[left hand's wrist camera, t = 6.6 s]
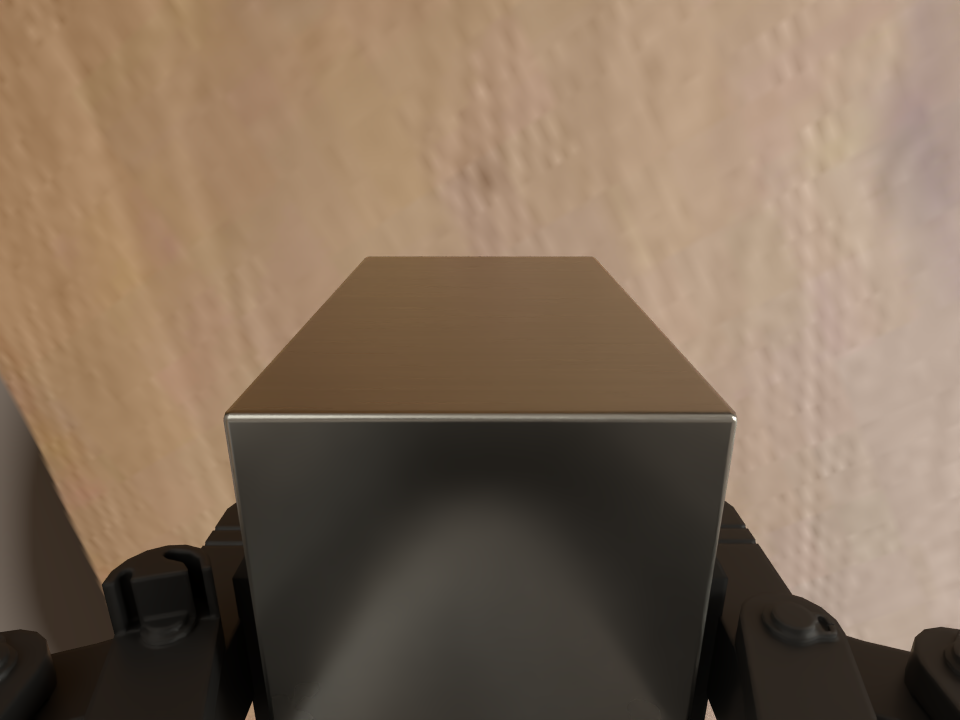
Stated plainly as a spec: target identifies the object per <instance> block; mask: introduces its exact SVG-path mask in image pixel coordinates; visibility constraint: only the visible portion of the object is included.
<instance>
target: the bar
mask: <svg viewBox="0 0 960 720" xmlns="http://www.w3.org/2000/svg"><path fill="white" fill-rule="evenodd" d="M736 425H737V416H736V413H735V412H734V411H733V409H732V408H731V407H730V406H729V405H728V404H727V403H726V402H725V401H724V400H723V398H722V397H721V396H720V395H719V394H718V393H717V392H716V391H715V390H714V389H713V387H712V386H711V385H710V384H709V383H708V382H707V381H706V380H705V379H704V378H703V376H702V375H701V374H700V373H699V372H698V371H697V370H696V369H695V368H694V367H693V365H692V364H691V363H690V362H689V361H688V360H687V359H686V358H685V357H684V356H683V354H682V353H681V352H680V351H679V350H678V349H677V348H676V347H675V346H674V344H673V343H672V342H671V341H670V340H669V339H668V338H667V337H666V336H665V335H664V333H663V332H662V331H661V330H660V329H659V328H658V327H657V326H656V325H655V324H654V322H653V321H652V320H651V319H650V318H649V317H648V316H647V315H646V314H645V313H644V311H643V310H642V309H641V308H640V307H639V306H638V305H637V304H636V303H635V302H634V300H633V299H632V298H631V297H630V296H629V295H628V294H627V293H626V292H625V291H624V289H623V288H622V287H621V286H620V285H619V284H618V283H617V282H616V281H615V279H614V278H613V277H612V276H611V275H610V274H609V273H608V272H607V271H606V270H605V268H604V267H603V266H602V265H601V264H600V263H599V262H598V261H597V260H596V259H595V258H594V257H366V258H365V259H364V260H363V261H362V262H361V263H360V264H359V266H358V267H357V268H356V269H355V270H354V271H353V272H352V273H351V274H350V276H349V277H348V278H347V279H346V280H345V281H344V282H343V283H342V284H341V285H340V287H339V288H338V289H337V290H336V291H335V292H334V293H333V294H332V295H331V297H330V298H329V299H328V300H327V301H326V302H325V303H324V304H323V305H322V306H321V308H320V309H319V310H318V311H317V312H316V313H315V314H314V315H313V316H312V318H311V319H310V320H309V321H308V322H307V323H306V324H305V325H304V326H303V327H302V329H301V330H300V331H299V332H298V333H297V334H296V335H295V336H294V337H293V339H292V340H291V341H290V342H289V343H288V344H287V345H286V346H285V347H284V348H283V350H282V351H281V352H280V353H279V354H278V355H277V356H276V357H275V358H274V359H273V361H272V362H271V363H270V364H269V365H268V366H267V367H266V368H265V369H264V371H263V372H262V373H261V374H260V375H259V376H258V377H257V378H256V379H255V380H254V382H253V383H252V384H251V385H250V386H249V387H248V388H247V389H246V390H245V392H244V393H243V394H242V395H241V396H240V397H239V398H238V399H237V400H236V401H235V403H234V404H233V405H232V406H231V407H230V408H229V409H228V410H227V411H226V413H225V416H224V426H225V433H226V439H227V445H228V452H229V458H230V464H231V471H232V477H233V483H234V490H235V496H236V503H237V509H238V515H239V522H240V528H241V534H242V541H243V547H244V553H245V560H246V566H247V572H248V579H249V585H250V591H251V598H252V604H253V610H254V617H255V623H256V630H257V636H258V642H259V649H260V655H261V661H262V668H263V674H264V680H265V687H266V693H267V699H268V706H269V712H270V718H271V720H690V716H691V710H692V703H693V697H694V691H695V684H696V678H697V672H698V665H699V659H700V653H701V646H702V640H703V634H704V627H705V621H706V615H707V608H708V602H709V596H710V589H711V583H712V577H713V570H714V564H715V558H716V552H717V545H718V539H719V533H720V526H721V520H722V514H723V507H724V501H725V495H726V488H727V482H728V476H729V469H730V463H731V457H732V450H733V444H734V438H735V431H736Z"/></svg>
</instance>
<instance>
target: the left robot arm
mask: <svg viewBox="0 0 960 720" xmlns="http://www.w3.org/2000/svg"><path fill="white" fill-rule="evenodd" d="M102 587H103V591H104V595H105V599H106V603H107V607H108V611H109V614H110V618H111V622H112V626H113V630H114V634H115V636H114V638H113V639H110V640H107V641H104V642H100V643H97V644H93V645H89V646H84V647H80V648H76V649H71V650H67V651H63V652H58V653H54V654H50V650H49V647H48V644H47V641H46V639H45V638H43V637H42V636H41V635H40V634H39V633H38V632H34V631H27V630H21V629H20V630H13V631H6V632H0V720H245V718H246V716H247V713H248V711H249V708H250V706H251V703H252V701H253V706H254V712H255V717H256V720H271V718H270V712H269V706H268V699H267V693H266V687H265V680H264V674H263V668H262V661H261V655H260V649H259V642H258V636H257V630H256V623H255V617H254V610H253V604H252V598H251V591H250V585H249V579H248V572H247V566H246V560H245V553H244V547H243V541H242V534H241V528H240V522H239V515H238V509H237V503H235V504H234V505H232V506H231V507H229V508H228V509H227V510H226V512H225V513H224V515H223V516H222V518H221V519H220V521H219V522H218V524H217V525H216V527H215V531H212V533H211V534H210V536H209V537H208V539H207V540H206V542H205V546H202V548H197V547H193V546H189V545H168V546H164V547H160V548H156V549H152V550H148V551H145V552H143V553H141V554H139V555H136V556H134V557H132V558H130V559H128V560H126V561H125V562H124V563H122V564H121V565H120V566H118V567H117V568H116V569H114V570H113V571H112V572H111V573H110V574H109V576H108V577H107V578H106V580H105V581H104V582H103V584H102ZM708 699H709V702H710V704H711V707H712V709H713V712H714V714H715V717H716V719H717V720H960V630H959V629H952V628H945V627H937V628H931V629H924V630H923V631H922V632H921V633H920V634H918V635H917V636H916V637H915V639H914V642H913V646H912V649H911V652H909V651H904V650H900V649H896V648H891V647H887V646H883V645H878V644H874V643H870V642H866V641H862V640H859V639H855V638H852V637H849V636H846V635H845V633H844V631H843V630H842V628H841V627H840V625H839V623H838V622H837V620H836V619H834V618H833V617H832V616H831V615H830V614H829V613H827V612H826V611H825V610H824V609H823V608H821V607H820V606H818V605H816V604H814V603H812V602H810V601H808V600H806V599H804V598H802V597H798V596H795V595H792V593H791V592H790V591H789V589H788V588H787V586H786V585H785V583H784V582H783V580H782V579H781V577H780V576H779V574H778V573H777V571H776V570H775V568H774V567H773V565H772V564H771V562H770V561H769V559H768V558H767V556H766V555H765V553H764V552H763V550H762V549H761V547H760V546H759V544H756V542H755V539H754V537H753V536H752V534H751V533H750V531H749V530H748V529H746V527H745V524H744V522H743V521H742V519H741V518H740V516H739V515H738V513H737V512H736V510H735V509H734V507H733V506H731V505H730V504H728V503H727V502H726V501H724V507H723V514H722V520H721V526H720V533H719V539H718V545H717V552H716V558H715V564H714V570H713V577H712V583H711V589H710V596H709V602H708V608H707V615H706V621H705V627H704V634H703V640H702V646H701V653H700V659H699V665H698V672H697V678H696V684H695V691H694V697H693V703H692V710H691V716H690V720H705V714H706V708H707V702H708Z"/></svg>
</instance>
